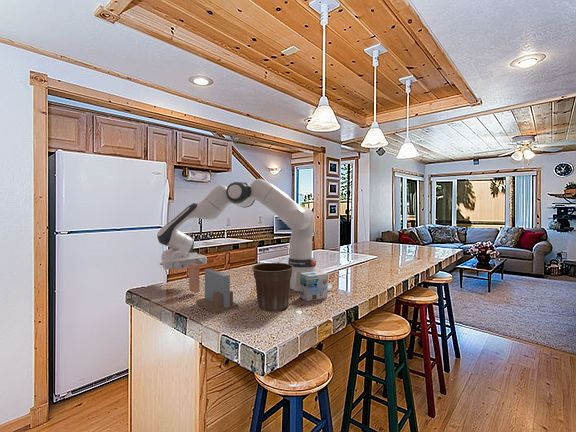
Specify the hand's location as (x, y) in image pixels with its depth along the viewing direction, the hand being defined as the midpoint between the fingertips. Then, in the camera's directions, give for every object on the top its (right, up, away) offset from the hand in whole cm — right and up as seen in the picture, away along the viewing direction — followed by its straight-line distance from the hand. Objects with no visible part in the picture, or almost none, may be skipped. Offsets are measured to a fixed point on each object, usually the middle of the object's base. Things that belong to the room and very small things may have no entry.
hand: (192, 264), depth 148 cm
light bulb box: (+55, -14, -6) cm, 57 cm away
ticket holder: (+15, -14, -17) cm, 27 cm away
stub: (+2, -12, -2) cm, 12 cm away
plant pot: (+37, -14, -18) cm, 44 cm away
